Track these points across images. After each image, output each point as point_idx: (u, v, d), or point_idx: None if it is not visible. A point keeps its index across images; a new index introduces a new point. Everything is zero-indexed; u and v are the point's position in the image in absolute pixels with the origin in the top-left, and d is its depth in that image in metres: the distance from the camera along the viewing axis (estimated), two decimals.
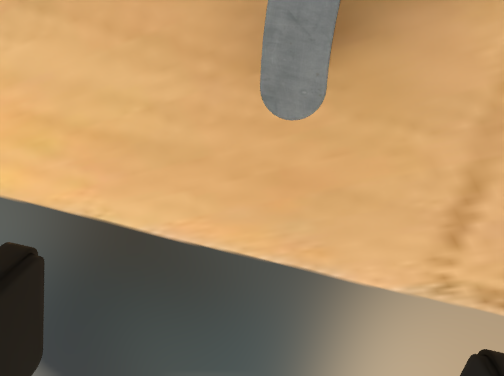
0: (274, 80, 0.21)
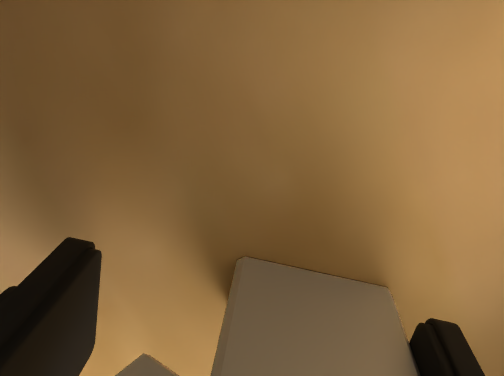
0: None
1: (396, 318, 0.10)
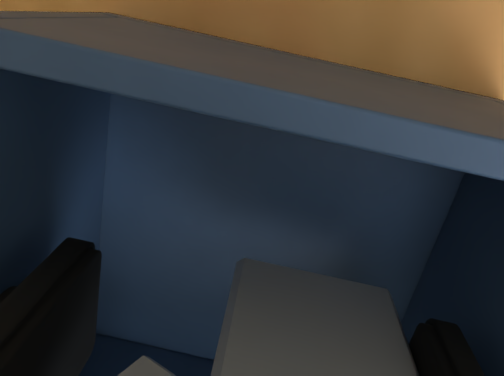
0: None
1: (396, 320, 0.10)
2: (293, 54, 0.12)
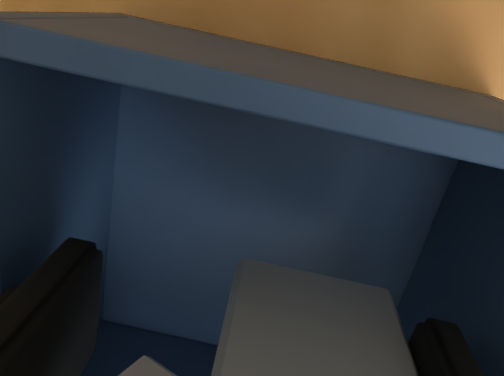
0: None
1: (396, 320, 0.10)
2: (294, 52, 0.13)
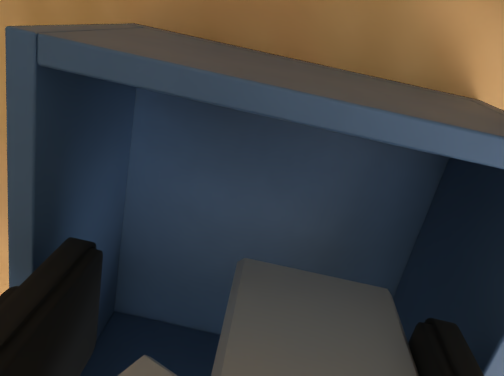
0: None
1: (396, 319, 0.10)
2: (296, 60, 0.14)
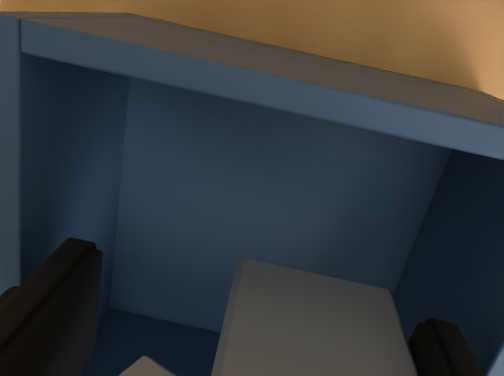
0: None
1: (396, 320, 0.10)
2: (293, 50, 0.13)
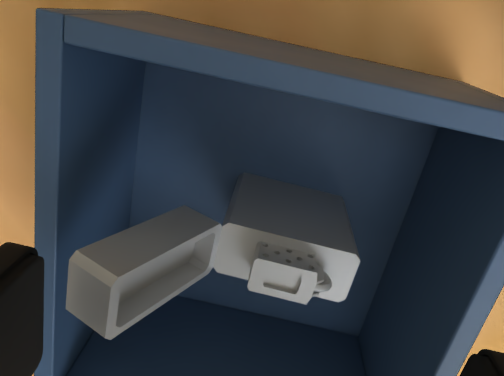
0: None
1: (343, 209, 0.15)
2: (293, 44, 0.15)
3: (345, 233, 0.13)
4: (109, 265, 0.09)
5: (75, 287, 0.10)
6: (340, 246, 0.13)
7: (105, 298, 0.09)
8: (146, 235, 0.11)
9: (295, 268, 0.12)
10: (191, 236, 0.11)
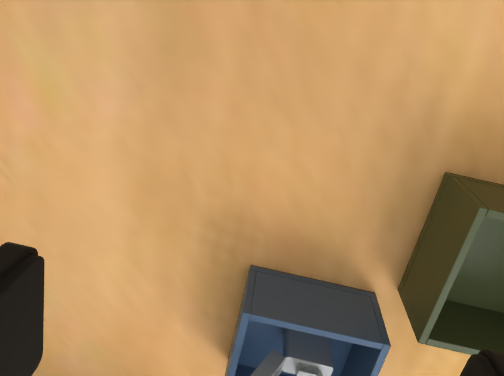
0: None
1: (328, 341, 0.39)
2: (309, 280, 0.39)
3: (328, 356, 0.37)
4: None
5: None
6: (326, 363, 0.37)
7: None
8: (266, 366, 0.35)
9: (311, 374, 0.36)
10: (278, 365, 0.35)
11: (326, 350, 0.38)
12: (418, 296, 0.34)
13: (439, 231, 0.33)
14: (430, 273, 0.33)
